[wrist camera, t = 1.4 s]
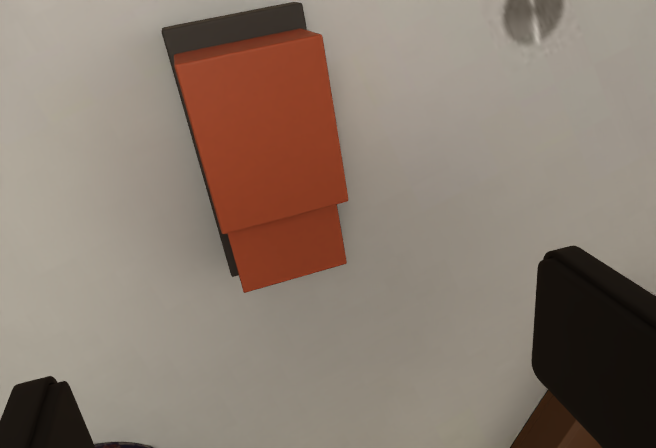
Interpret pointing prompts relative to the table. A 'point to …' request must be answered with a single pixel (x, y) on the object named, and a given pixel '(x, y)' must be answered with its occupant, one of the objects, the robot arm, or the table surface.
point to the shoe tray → (553, 428)
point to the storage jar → (120, 445)
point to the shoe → (264, 139)
